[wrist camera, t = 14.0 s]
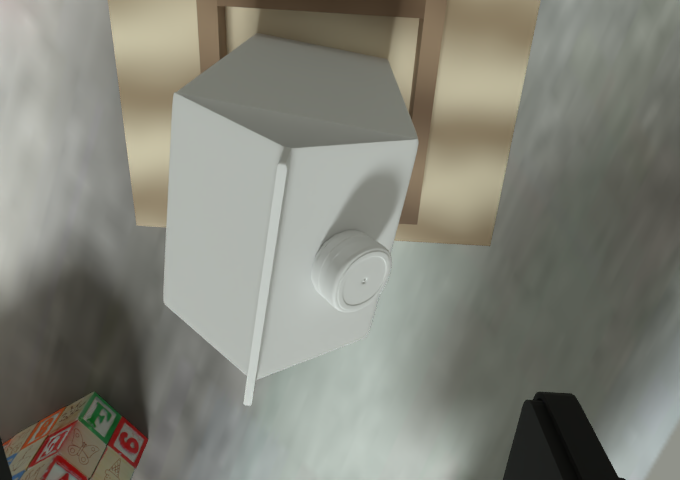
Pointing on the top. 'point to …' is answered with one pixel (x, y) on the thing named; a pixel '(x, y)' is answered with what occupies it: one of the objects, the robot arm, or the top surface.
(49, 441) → the stack of blocks
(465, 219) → the jig
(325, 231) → the milk carton
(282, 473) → the top surface
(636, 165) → the top surface
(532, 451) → the robot arm
